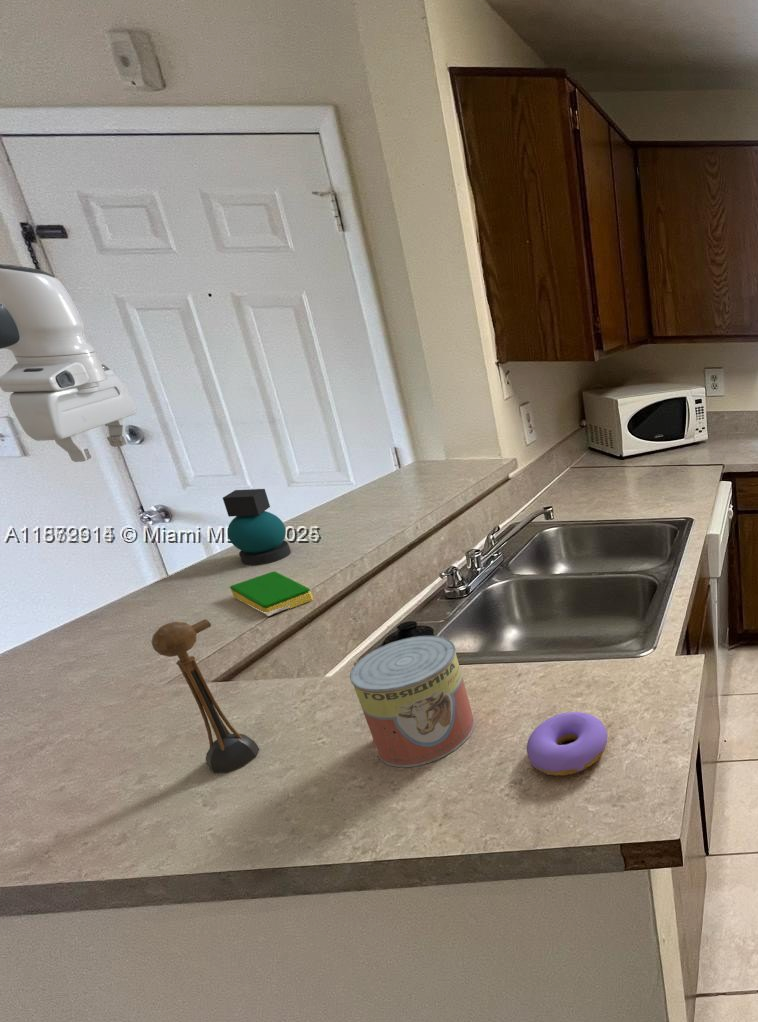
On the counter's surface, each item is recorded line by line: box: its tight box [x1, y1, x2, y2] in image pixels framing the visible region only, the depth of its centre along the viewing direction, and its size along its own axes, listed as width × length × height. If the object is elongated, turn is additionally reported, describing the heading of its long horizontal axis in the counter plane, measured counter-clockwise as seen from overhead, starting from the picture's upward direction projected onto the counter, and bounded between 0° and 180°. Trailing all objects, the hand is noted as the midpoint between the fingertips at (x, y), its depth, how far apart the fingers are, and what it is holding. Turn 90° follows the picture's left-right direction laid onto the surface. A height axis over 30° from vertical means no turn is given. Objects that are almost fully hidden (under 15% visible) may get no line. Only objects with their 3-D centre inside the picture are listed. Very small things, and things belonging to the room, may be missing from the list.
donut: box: [526, 711, 608, 776], centre depth 77 cm, size 10×9×5 cm
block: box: [222, 488, 271, 518], centre depth 123 cm, size 5×5×4 cm
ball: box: [227, 510, 292, 566], centre depth 126 cm, size 9×9×10 cm
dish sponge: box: [229, 571, 314, 612], centre depth 112 cm, size 7×14×2 cm, turn 60°
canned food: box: [349, 635, 476, 768], centre depth 78 cm, size 11×11×12 cm
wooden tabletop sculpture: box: [150, 619, 260, 774], centre depth 73 cm, size 6×5×20 cm
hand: (102, 452), depth 106 cm, fingers open, 8 cm apart
